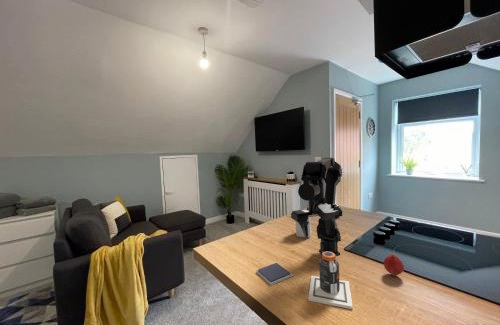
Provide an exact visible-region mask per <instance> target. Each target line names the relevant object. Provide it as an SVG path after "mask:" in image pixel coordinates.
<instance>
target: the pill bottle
mask: <svg viewBox="0 0 500 325" xmlns="http://www.w3.org/2000/svg"><path fill="white" fill-rule="evenodd" d="M318 266H319V270H318V271H319V277H320V288H321V289H322V290H323V291H324V292H326V293H329V294H335V293H338V292H339V290H340V283H339V280H340V264H339V262H338V260H337V259H336V255H335V254H334V253H332V252H328V251H326V252H323V253H322V252H321V258H320V259H319V261H318Z"/></svg>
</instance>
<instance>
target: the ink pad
mask: <svg viewBox="0 0 500 325" xmlns="http://www.w3.org/2000/svg"><path fill="white" fill-rule="evenodd" d="M256 274H257V275H259V276H260V277H261V278H262V279H263V280H264V281H265V282H266V283H267V284H269V285H270V286H273V285H275V284H278V283H280V282H282V281H285V280H287V279H290V278H292V277H293V276H294V275H293V273H291V272H290V271H288V270H287V269H286V268H284V267H283V266H282V265H280V264H279V263H278V262H275V263H272V264H270V265H267V266H264V267H260V268H259V269H257V270H256Z"/></svg>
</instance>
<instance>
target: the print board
mask: <svg viewBox="0 0 500 325" xmlns="http://www.w3.org/2000/svg"><path fill="white" fill-rule="evenodd" d="M310 278H311V279H310V283H309V290H308V299H307V300H308V302H309V301H310V302H314V303H318V304H324V305H329V306H333V307H334V306H335V307H339V308H345V309H349V310H353V307H354V306H353V301H352V295H351V288H350V287H351V286H350V281H348V280H342V279H339V283H340V290H339V292H338V293H335V294H329V293H326V292H324V291H323V290H322V289H321V288H320V276H315V275H311V277H310Z"/></svg>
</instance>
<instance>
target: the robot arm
mask: <svg viewBox="0 0 500 325" xmlns="http://www.w3.org/2000/svg"><path fill="white" fill-rule="evenodd" d="M342 177H343V170H342V166H341V164H340V163H338V162H337V161H335V157H323V158H321V159H319V160H317V161H306V162H305V164H304V165H303V169H302V174H301V178H300V181H301V182H303V183H302V184H300V185H299V187H298V189H297V193H298V196H299V198H301V199H302V200H303V201H306V202H307V201H308V203H307V204H308V207H306V210H308V211H309V212H304V211H302V210H303V209H297V210H292V211H291V213H290V219H292V220H294V221H295V222H296V221H297V222H298V223H299V225H300V226H301V229H302V231H303V233H304V235H305V237H304V238H306V239H309V238H308V227H307V225H308V223H309V222H308V221H307V220H308V217H311V218H312V217H317V216H318V217H320V218H319V219H318V224H317V226H316V235H317V236H316V237H317V239H318V240H320V242H319V244H320V245H319V246H320V247H319V249H318V250H319V252H320V253H321V254H322V253H323V252H326V251H328V252H332V253H334V254H335V256H340V255H341V252H339V249H338V243H339V242H342V237H341V231H340V230H339V227H338V223H337V221H336V220H338V219H340V217H343V210H342V208H341V207H340V206H339V205H338V204H337V203H336V193H337V187H338V185H339V184H340V182H341V179H342ZM324 183H325V185H324Z"/></svg>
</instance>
